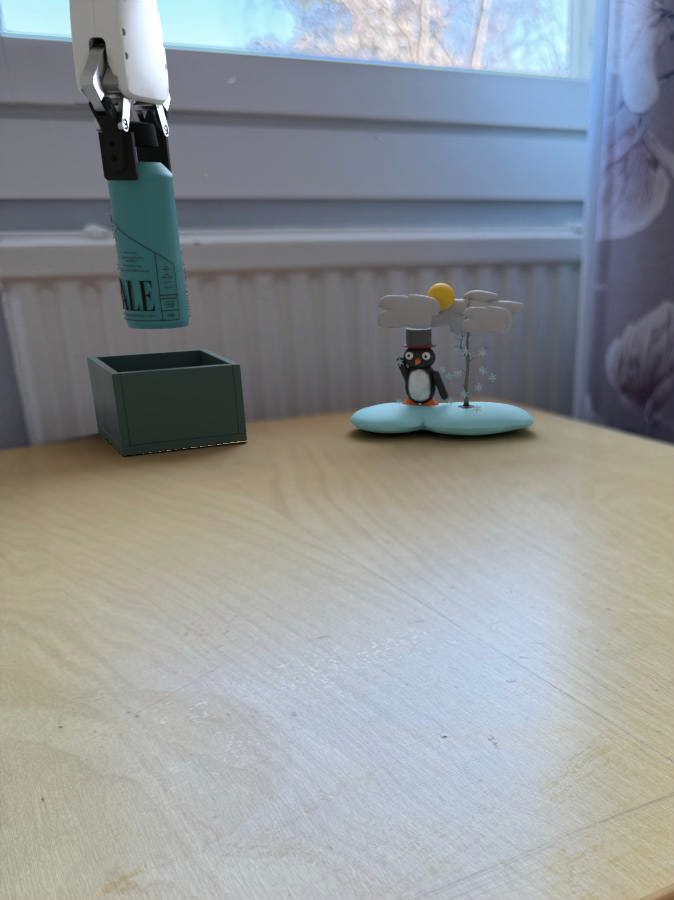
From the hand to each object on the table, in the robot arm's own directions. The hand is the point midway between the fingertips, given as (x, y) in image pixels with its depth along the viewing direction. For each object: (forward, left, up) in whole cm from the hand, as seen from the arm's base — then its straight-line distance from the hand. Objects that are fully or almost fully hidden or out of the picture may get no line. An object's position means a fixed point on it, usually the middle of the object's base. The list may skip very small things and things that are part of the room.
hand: (139, 178), depth 96 cm
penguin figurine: (+28, +8, -25) cm, 38 cm away
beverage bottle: (0, 0, -15) cm, 15 cm away
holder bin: (0, 0, -25) cm, 25 cm away
